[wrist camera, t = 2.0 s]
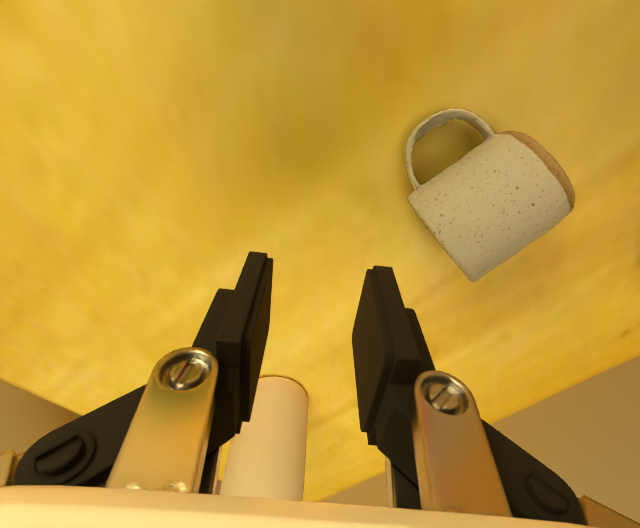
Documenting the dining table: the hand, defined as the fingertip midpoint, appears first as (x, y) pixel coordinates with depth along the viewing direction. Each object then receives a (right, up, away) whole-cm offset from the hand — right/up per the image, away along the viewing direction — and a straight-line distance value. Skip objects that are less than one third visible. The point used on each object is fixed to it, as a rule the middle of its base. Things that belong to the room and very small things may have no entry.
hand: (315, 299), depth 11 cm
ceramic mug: (+11, +8, +15) cm, 20 cm away
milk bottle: (-5, -14, +29) cm, 33 cm away
